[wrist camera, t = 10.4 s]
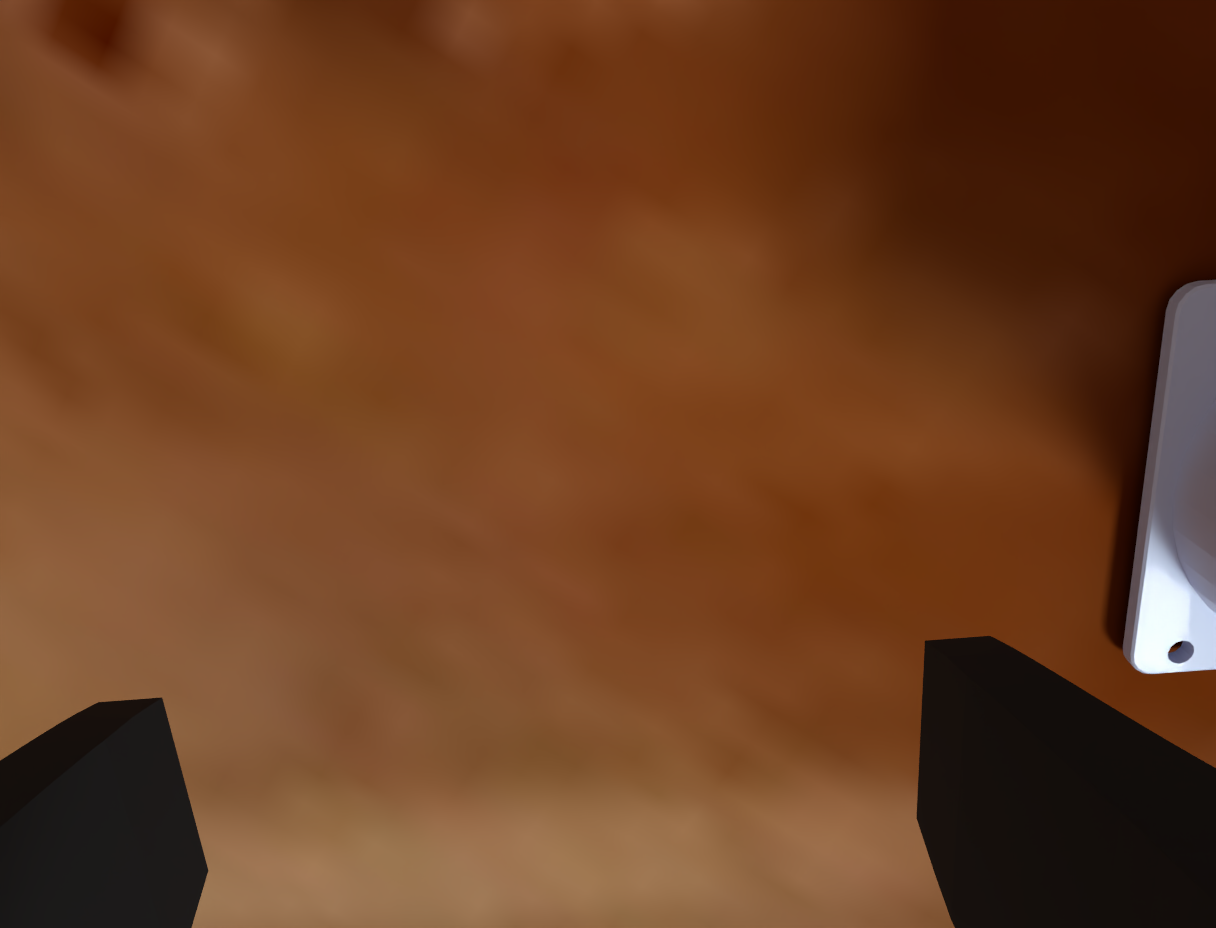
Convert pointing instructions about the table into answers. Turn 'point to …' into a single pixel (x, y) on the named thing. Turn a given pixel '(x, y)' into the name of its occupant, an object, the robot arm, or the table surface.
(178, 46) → the table surface
